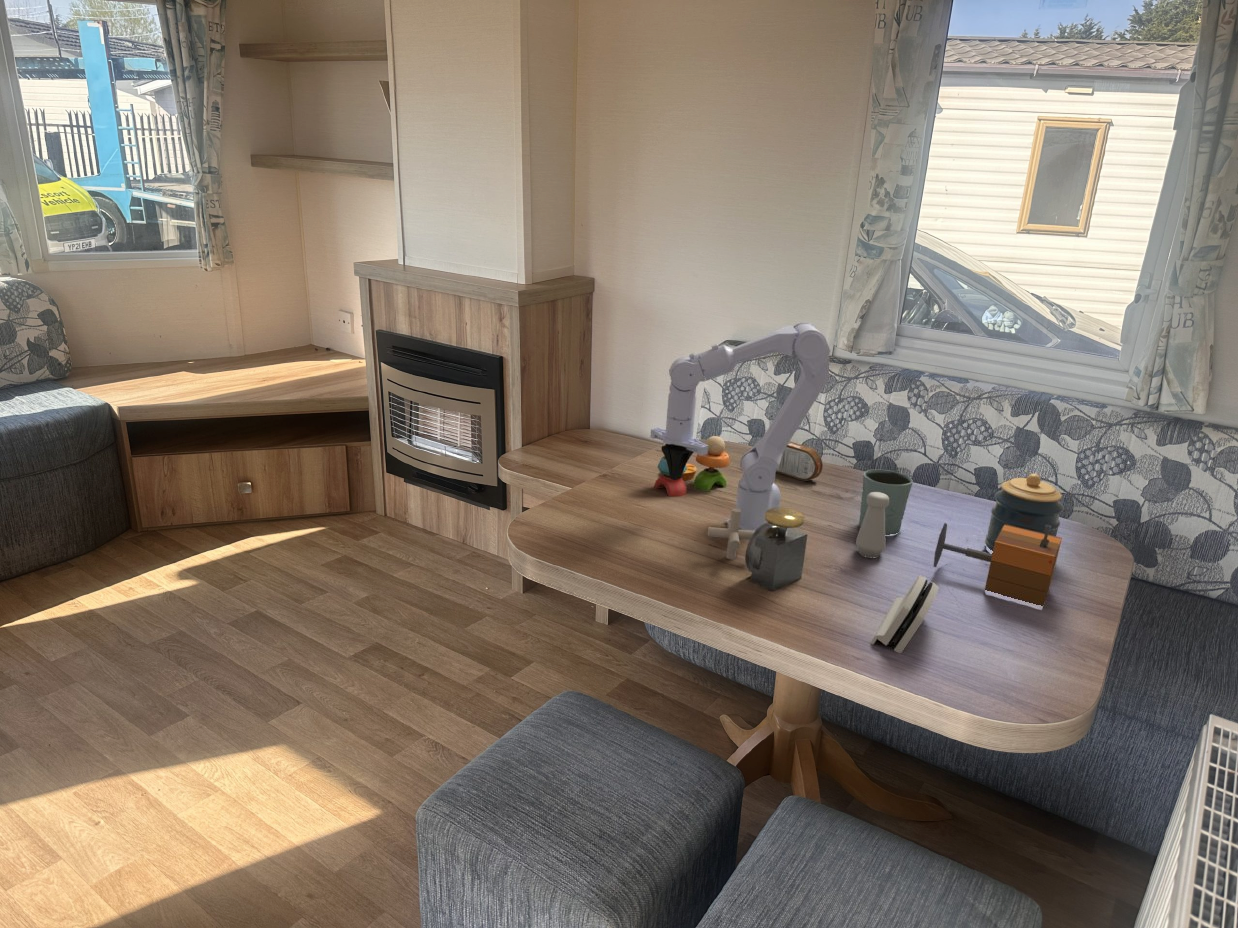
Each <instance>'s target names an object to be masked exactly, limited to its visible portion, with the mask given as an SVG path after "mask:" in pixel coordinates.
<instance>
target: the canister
mask: <svg viewBox="0 0 1238 928" xmlns="http://www.w3.org/2000/svg"><path fill="white" fill-rule="evenodd" d="M1041 479H1042V478H1041V477H1040V475H1039V474H1037V473H1030V474H1029V475H1027V476H1026V477H1014V478H1012V479H1010V480H1006V481H1004V482H1002V483H1001V485H1000V487H1001V490H998V491H996V492H995V494H994V499H995V500H996V501H995V504H994V506H993V507H992V508H991V510H990V511H991V513H990V514H991V516H990V519H989V520H990V521H989V524H988V529H987V534H986V535H985V539H984V544H986V546H987V547H988V548H989V549H990V550H992V551H993V549H994V545H995V541H996V539H997V537H998V535H999V534H1000V532H1001V530H1002V528H1003V526H1004V525H1005V524H1006V525H1010V526H1014V527H1019V528H1023V529H1027V530H1031V531H1035V532H1040V533H1044V534H1045V525H1050V526H1051V530H1050V532H1049V533H1048V535H1052V536H1056V537H1057V534H1058V529H1059V527H1060V525H1061V521H1060V520H1059V519H1060V517H1059V516H1060V514H1061V513H1063V511H1064V505H1063V504H1062V503H1061V502H1060V500H1061V499H1062V498H1063V494H1062V493H1060V491H1059V490H1057V489H1056V488H1055V486H1053V485H1051V484H1050V483H1048V482H1045V481H1042V480H1041Z"/></svg>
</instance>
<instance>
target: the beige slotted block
mask: <svg viewBox="0 0 1238 928" xmlns="http://www.w3.org/2000/svg"><path fill="white" fill-rule="evenodd" d="M939 589H940V587H939V586H938V585H937V584H936V583H935V582H931V581H929V582H928V580H927V577H925V576H922V575H918V577H917V578H916V579H915V580H914V582H913V584H912V585H911V587H910V588H909V590H908V591H907V593H906V594H905V596H903V597H902V596H901V597H895V599H894V600H893V602H892V603H891V604H890V607H889V608H890V609H888V610H887V612H886V614H885V616H884V618H883V620H882V621H881V623H880V625H879V626H878V629H877V631H876V632H875V634H874V635H873V638H872V640H871V641H870V645H873V646H874V644H875V643H876V641H877V640H878V641H880V642H881V643H882V644H883V645H885V646H888V645H889V646H891V645H892V644H893V646H892V648H894V649H893V651H894V652H895V653H899V654H902V653H903V651H904V649H906V647H907V645H908V644H909V642H910V641H911V639H912V638H913V637H914V635H915V634H916V632H917V630H918V629H919V628H920V626H921V624H922V623H923V622H924V620H925V618H926V616H927V615H928V613H929V611H930V609H931V606H932V605H933V603H934V601H935V599H936V596H937V594H938V593H939ZM902 629H903V630H902ZM893 642H894V643H893Z"/></svg>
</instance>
